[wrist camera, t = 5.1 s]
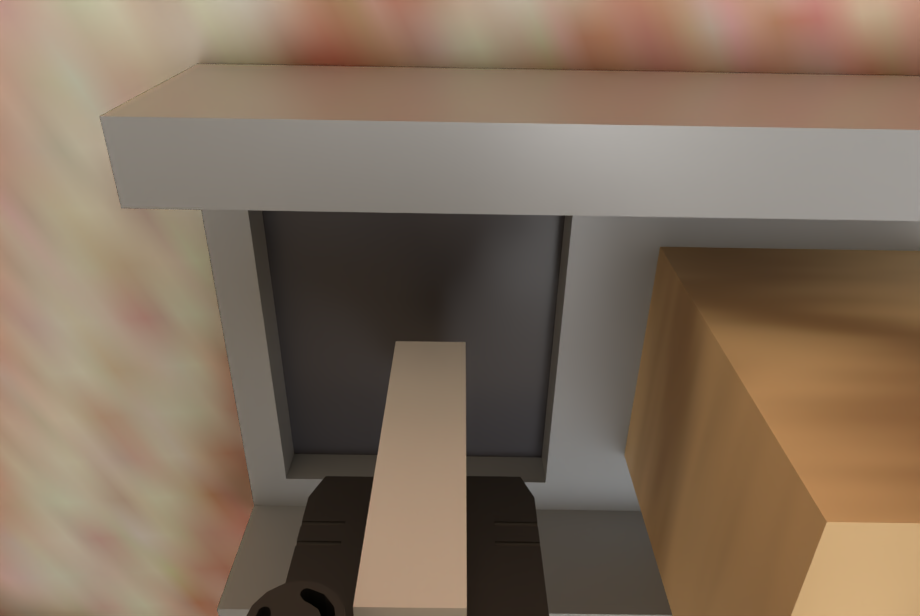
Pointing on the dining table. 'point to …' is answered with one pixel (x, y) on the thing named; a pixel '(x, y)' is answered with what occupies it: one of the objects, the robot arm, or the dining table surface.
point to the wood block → (781, 431)
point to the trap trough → (491, 259)
